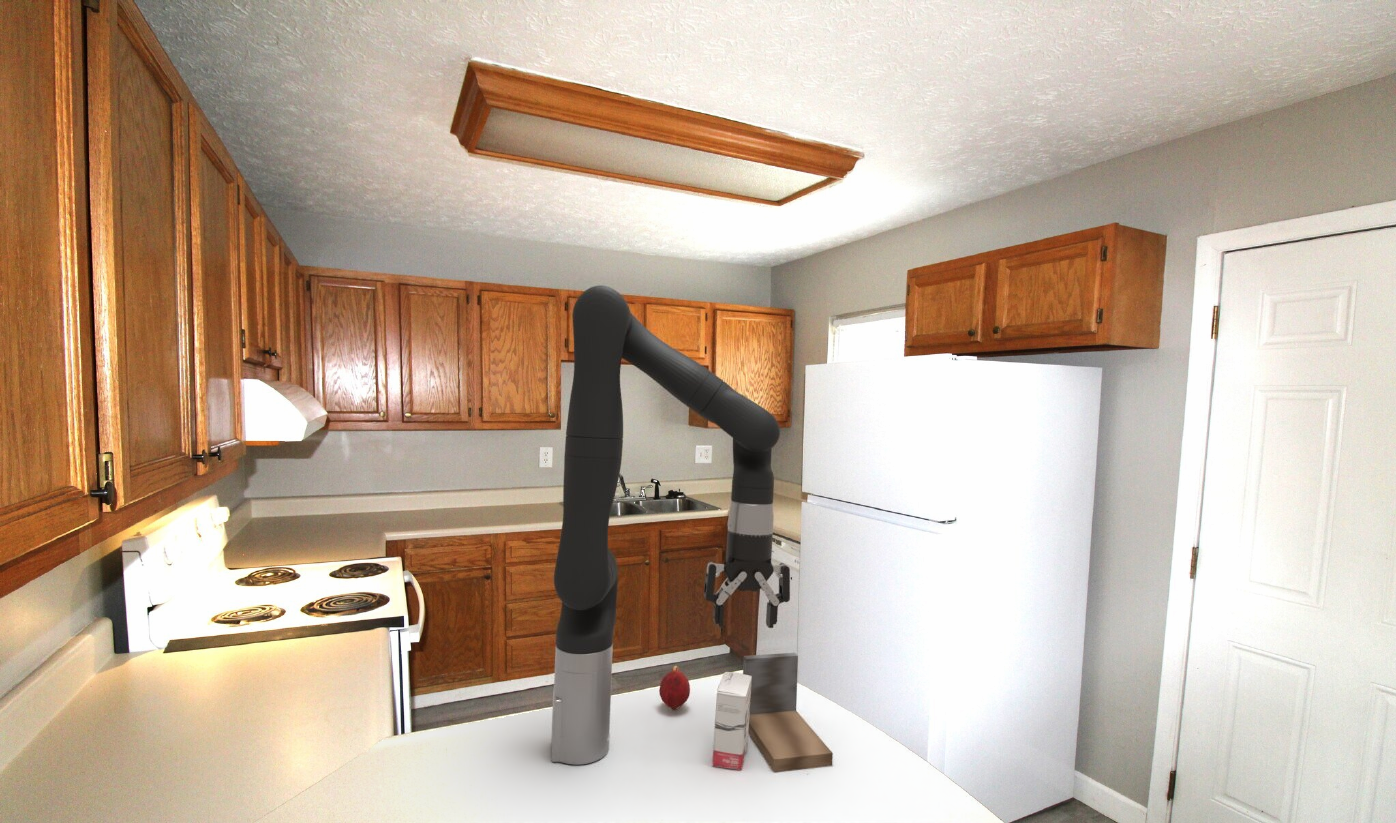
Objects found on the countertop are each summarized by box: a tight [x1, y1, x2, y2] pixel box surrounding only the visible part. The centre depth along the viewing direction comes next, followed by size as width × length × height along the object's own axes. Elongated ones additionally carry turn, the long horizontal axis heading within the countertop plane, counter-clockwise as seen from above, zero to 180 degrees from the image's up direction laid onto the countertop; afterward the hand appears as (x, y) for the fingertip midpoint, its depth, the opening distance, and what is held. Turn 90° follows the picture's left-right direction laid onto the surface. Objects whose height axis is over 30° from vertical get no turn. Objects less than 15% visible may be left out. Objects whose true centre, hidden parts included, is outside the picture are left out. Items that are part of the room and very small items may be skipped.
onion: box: [658, 665, 691, 711], centre depth 115 cm, size 6×6×8 cm
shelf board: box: [742, 652, 834, 773], centre depth 104 cm, size 10×16×12 cm, turn 14°
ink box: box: [711, 671, 752, 771], centre depth 100 cm, size 9×5×12 cm, turn 168°
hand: (744, 626), depth 102 cm, fingers open, 8 cm apart
